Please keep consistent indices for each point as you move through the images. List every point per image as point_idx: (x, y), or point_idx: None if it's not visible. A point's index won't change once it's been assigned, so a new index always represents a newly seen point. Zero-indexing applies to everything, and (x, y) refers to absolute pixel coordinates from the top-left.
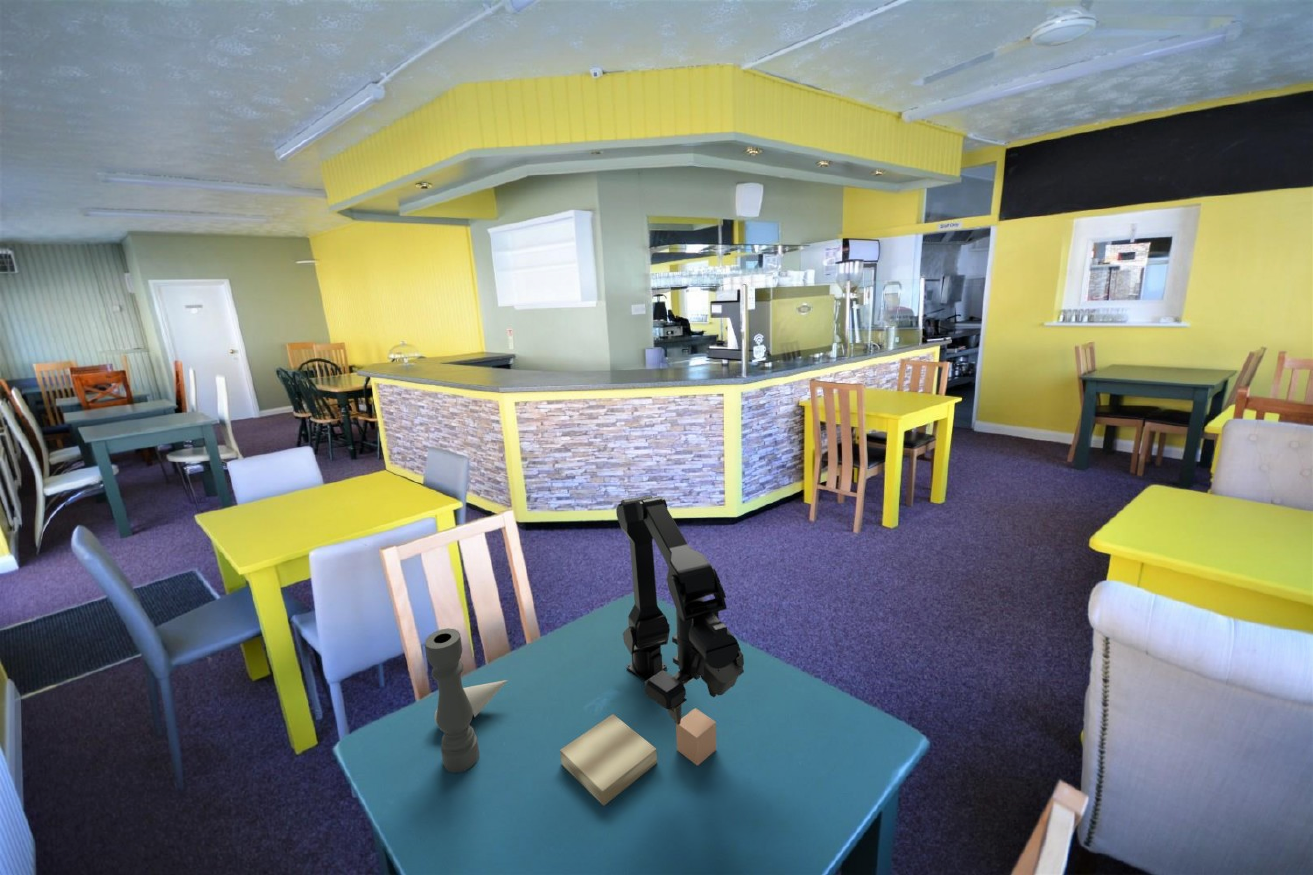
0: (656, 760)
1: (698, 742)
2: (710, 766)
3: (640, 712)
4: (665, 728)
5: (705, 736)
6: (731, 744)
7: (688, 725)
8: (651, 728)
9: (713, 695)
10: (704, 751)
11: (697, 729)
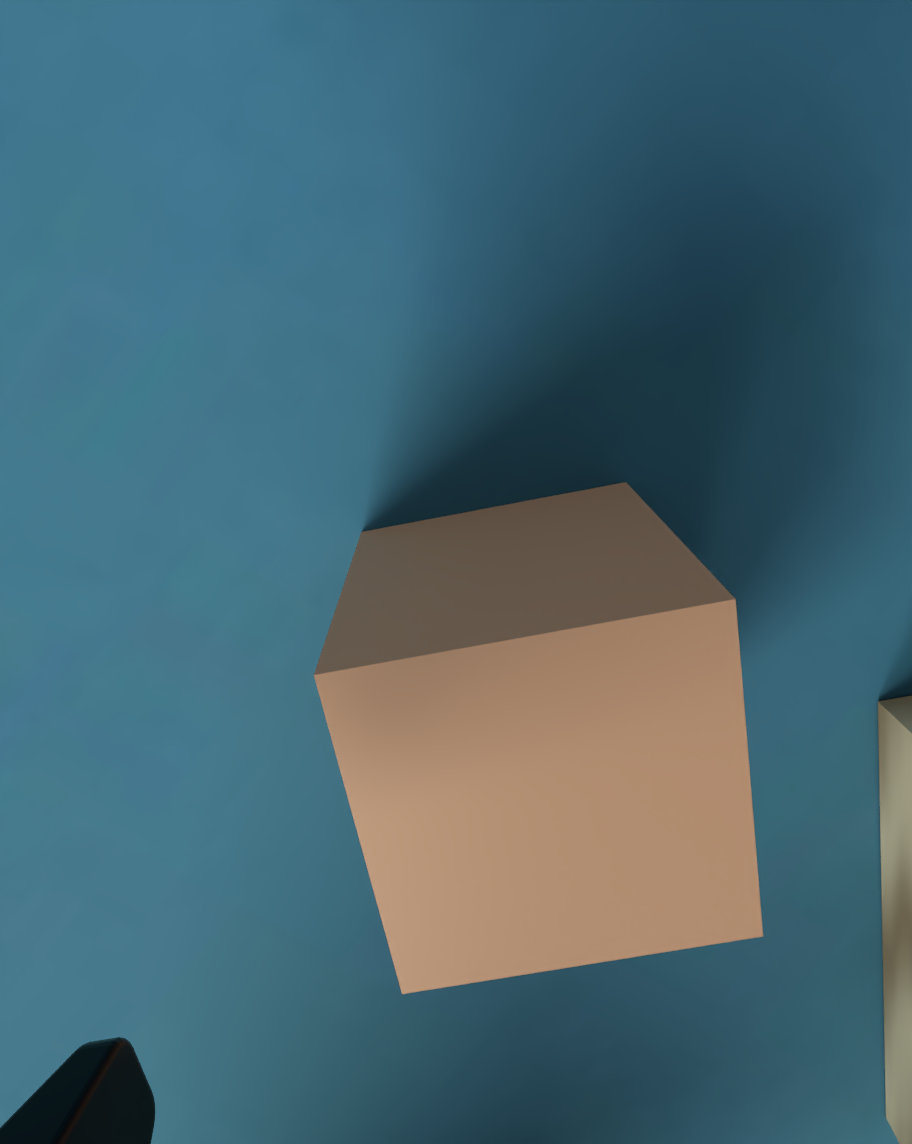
0: (896, 714)
1: (673, 569)
2: (533, 404)
3: (640, 1128)
4: None
5: (535, 595)
6: (198, 496)
7: (669, 824)
8: (675, 981)
9: (115, 1078)
10: (538, 525)
11: (622, 709)
